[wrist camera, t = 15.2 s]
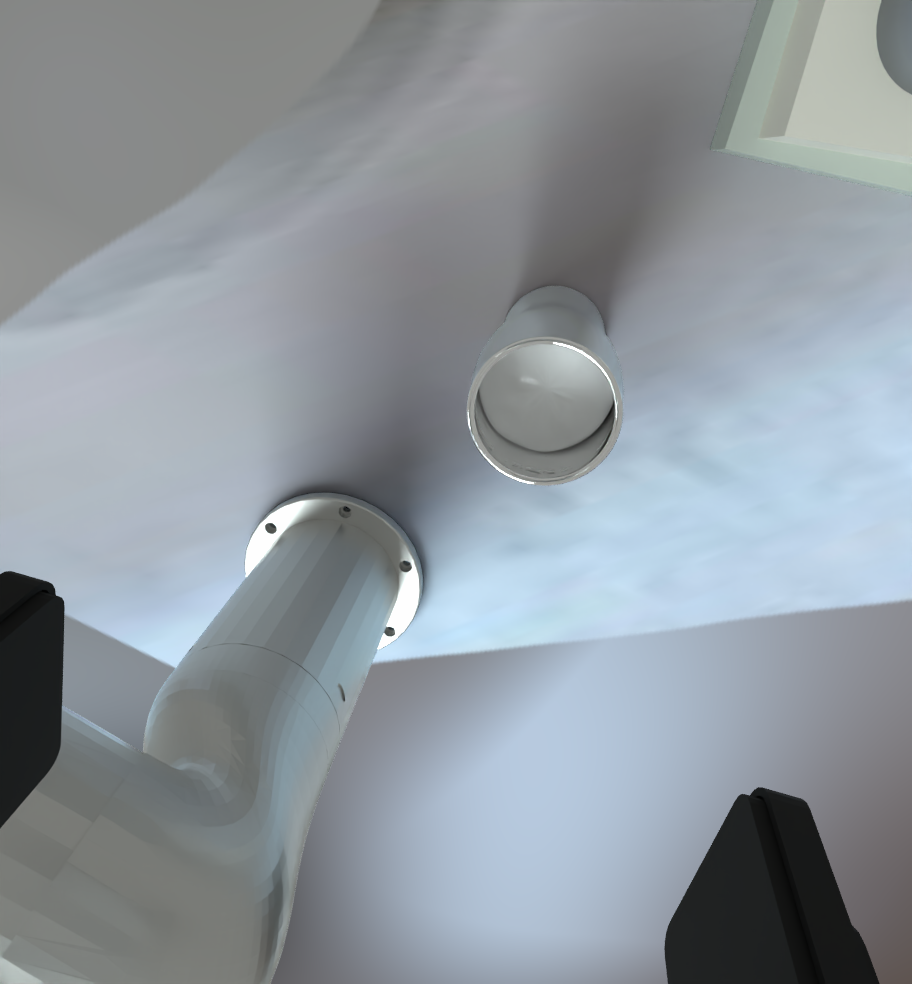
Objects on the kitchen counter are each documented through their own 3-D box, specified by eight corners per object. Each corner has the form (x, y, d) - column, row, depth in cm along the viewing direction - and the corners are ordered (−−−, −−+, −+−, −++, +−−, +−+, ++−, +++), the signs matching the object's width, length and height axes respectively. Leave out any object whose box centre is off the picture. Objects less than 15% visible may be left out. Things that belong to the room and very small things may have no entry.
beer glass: (472, 351, 47) (430, 431, 33) (540, 252, 44) (524, 296, 31) (565, 415, 48) (561, 519, 34) (637, 322, 45) (664, 396, 31)
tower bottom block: (931, 201, 41) (976, 207, 36) (708, 149, 41) (724, 148, 37) (1051, -69, 36) (1121, -102, 31) (796, -125, 36) (827, -165, 32)
